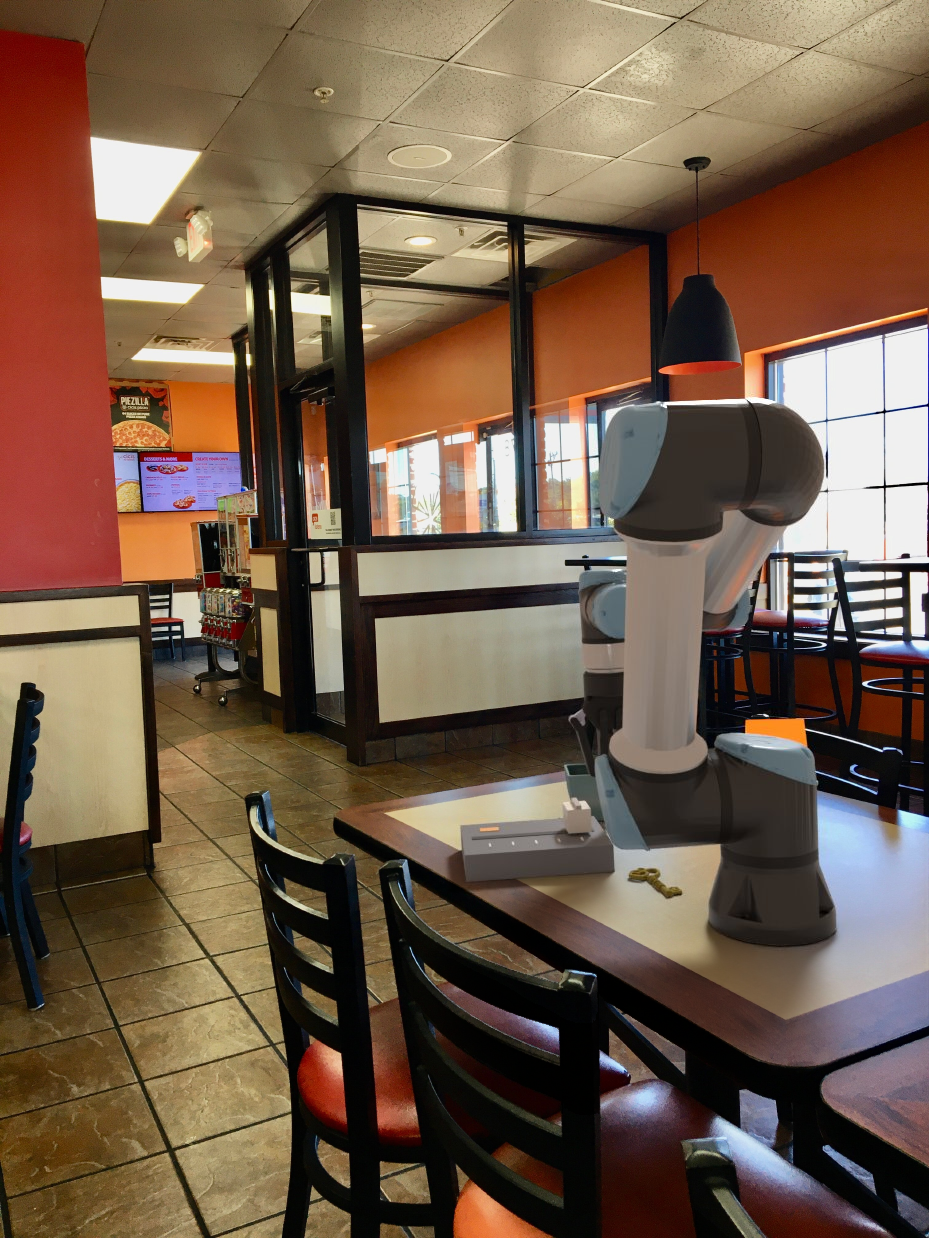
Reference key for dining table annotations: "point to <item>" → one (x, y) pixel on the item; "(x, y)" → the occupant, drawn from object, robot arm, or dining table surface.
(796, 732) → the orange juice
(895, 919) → the dining table surface
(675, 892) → the key
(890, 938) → the dining table surface
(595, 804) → the flower pot
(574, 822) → the slider cap
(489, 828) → the dimmer console
